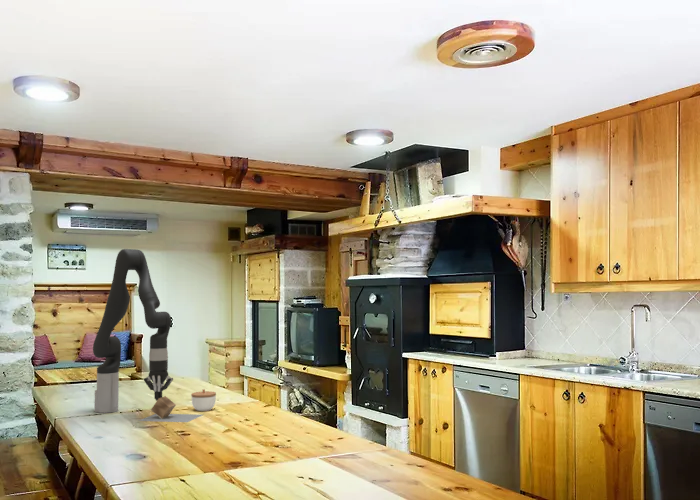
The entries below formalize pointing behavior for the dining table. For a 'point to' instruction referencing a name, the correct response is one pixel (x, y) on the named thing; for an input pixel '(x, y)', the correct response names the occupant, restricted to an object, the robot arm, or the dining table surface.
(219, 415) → the dining table surface
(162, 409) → the walnut cube
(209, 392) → the lidded jar
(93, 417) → the dining table surface
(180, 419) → the mat
